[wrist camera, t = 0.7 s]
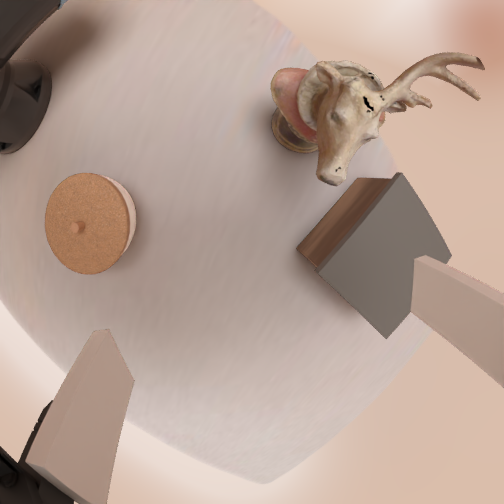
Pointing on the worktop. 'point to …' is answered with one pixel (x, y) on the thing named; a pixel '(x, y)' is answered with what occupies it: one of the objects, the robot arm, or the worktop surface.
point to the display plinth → (375, 248)
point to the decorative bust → (348, 106)
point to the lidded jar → (89, 222)
